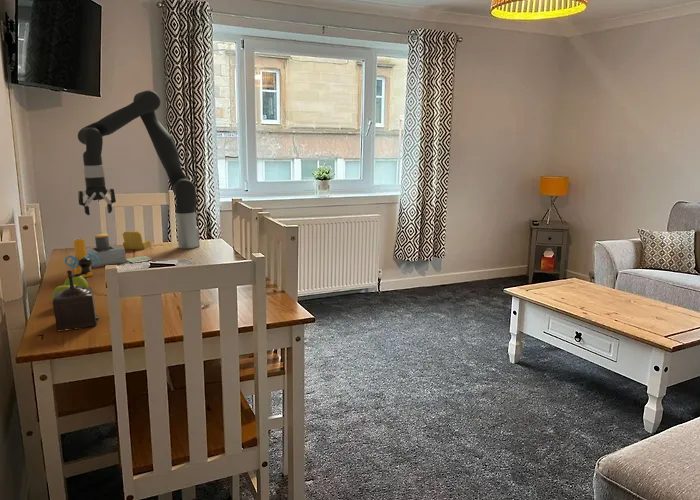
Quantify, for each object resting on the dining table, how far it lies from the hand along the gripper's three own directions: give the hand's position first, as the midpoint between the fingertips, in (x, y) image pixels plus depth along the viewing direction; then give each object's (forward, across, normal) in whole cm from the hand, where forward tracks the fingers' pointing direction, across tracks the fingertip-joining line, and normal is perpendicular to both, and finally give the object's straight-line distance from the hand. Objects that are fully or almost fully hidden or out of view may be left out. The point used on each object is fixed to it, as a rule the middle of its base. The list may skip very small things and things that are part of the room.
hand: (98, 213), depth 225 cm
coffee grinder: (+22, +27, +73) cm, 81 cm away
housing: (+21, 0, 0) cm, 21 cm away
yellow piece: (+22, -20, -19) cm, 35 cm away
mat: (+21, -13, +7) cm, 26 cm away
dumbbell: (+22, +24, +50) cm, 60 cm away
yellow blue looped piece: (+22, +13, +19) cm, 32 cm away
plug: (+21, 0, 0) cm, 21 cm away
